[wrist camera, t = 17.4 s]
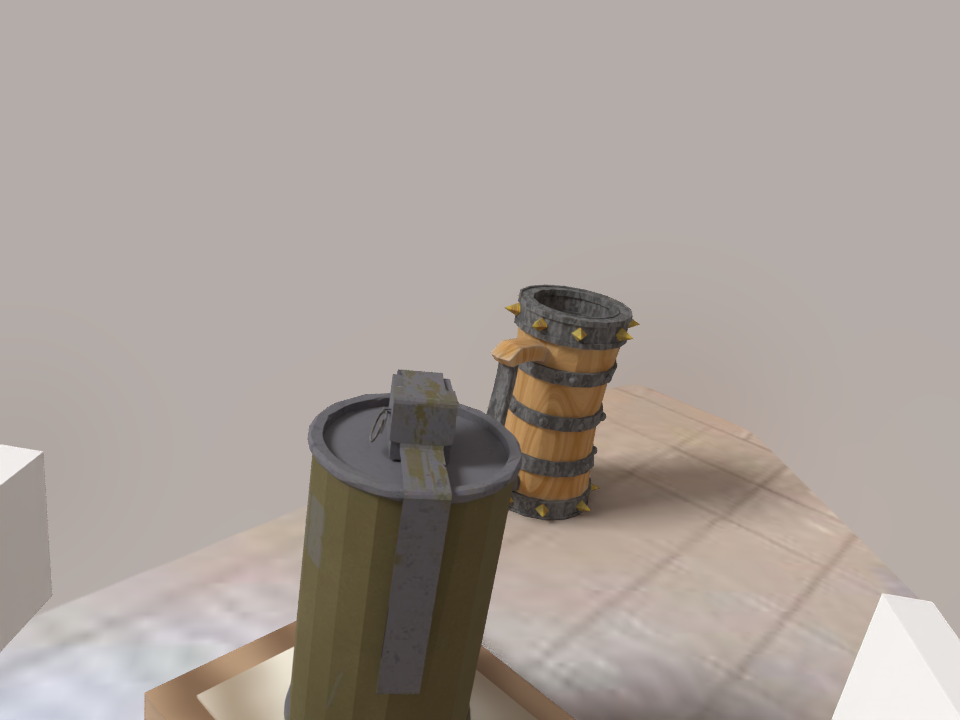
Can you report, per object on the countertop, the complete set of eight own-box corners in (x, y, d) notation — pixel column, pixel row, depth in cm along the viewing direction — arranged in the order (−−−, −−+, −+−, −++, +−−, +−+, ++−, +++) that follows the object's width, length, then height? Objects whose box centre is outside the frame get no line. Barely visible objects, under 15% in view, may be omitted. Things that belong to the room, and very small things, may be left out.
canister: (290, 642, 48) (317, 338, 41) (458, 645, 51) (511, 356, 43) (274, 800, 39) (306, 435, 31) (483, 796, 41) (558, 453, 33)
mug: (623, 498, 81) (670, 314, 74) (523, 561, 68) (568, 345, 61) (523, 447, 88) (557, 275, 81) (416, 496, 75) (445, 296, 68)
